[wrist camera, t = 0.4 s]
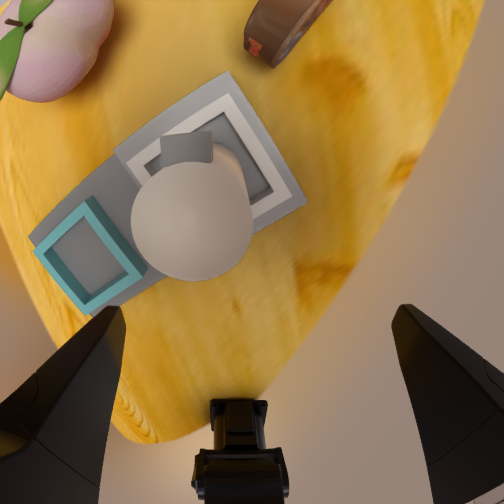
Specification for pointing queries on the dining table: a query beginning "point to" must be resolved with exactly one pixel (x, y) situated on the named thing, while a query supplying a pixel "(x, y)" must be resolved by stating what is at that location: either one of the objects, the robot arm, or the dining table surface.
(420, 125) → the dining table surface
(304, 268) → the dining table surface
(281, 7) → the tin
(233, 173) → the white rounded cylinder
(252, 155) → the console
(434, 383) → the robot arm
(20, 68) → the decorative fruit
